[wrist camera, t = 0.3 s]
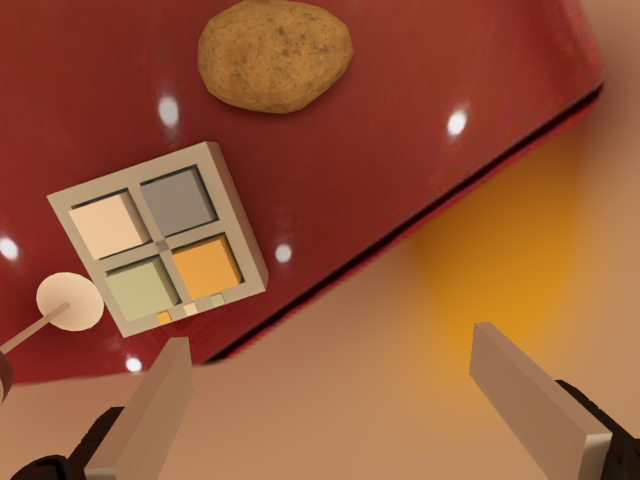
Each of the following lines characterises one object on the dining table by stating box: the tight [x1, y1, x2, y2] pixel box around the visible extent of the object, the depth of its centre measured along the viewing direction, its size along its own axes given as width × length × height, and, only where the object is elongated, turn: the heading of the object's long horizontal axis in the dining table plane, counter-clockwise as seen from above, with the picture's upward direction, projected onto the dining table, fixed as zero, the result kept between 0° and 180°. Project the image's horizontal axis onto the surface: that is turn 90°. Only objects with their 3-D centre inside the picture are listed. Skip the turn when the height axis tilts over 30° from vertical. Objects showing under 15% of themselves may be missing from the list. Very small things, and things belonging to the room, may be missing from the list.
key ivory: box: [68, 191, 151, 260], centre depth 35 cm, size 5×5×3 cm
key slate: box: [139, 168, 217, 237], centre depth 34 cm, size 5×5×3 cm
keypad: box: [47, 141, 269, 338], centre depth 38 cm, size 16×16×6 cm
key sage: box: [104, 255, 180, 322], centre depth 36 cm, size 5×5×3 cm
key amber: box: [172, 233, 243, 300], centre depth 36 cm, size 5×5×3 cm
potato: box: [197, 0, 354, 114], centre depth 33 cm, size 10×14×8 cm
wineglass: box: [0, 272, 104, 406], centre depth 32 cm, size 8×9×20 cm
